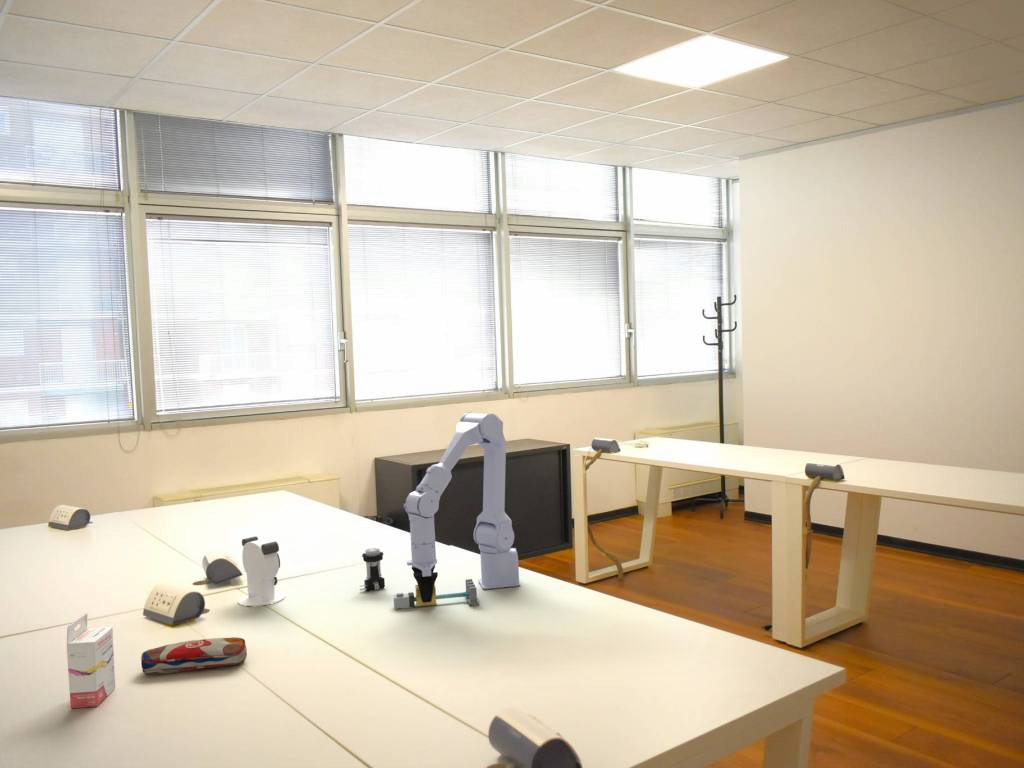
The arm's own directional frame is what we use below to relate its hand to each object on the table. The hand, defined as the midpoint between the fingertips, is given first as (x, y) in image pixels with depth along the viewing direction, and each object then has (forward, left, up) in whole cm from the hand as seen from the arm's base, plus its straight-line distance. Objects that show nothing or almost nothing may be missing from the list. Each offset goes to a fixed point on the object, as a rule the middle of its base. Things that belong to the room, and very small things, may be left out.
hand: (425, 598), depth 200 cm
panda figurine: (+39, -17, -2) cm, 43 cm away
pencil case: (+48, +25, -2) cm, 54 cm away
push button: (+12, -17, -2) cm, 21 cm away
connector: (+6, 0, -1) cm, 6 cm away
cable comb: (-11, 0, -1) cm, 11 cm away
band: (+3, 0, -1) cm, 4 cm away
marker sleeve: (0, 0, -1) cm, 1 cm away
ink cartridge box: (+63, +36, -2) cm, 73 cm away
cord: (-3, 0, -1) cm, 3 cm away
